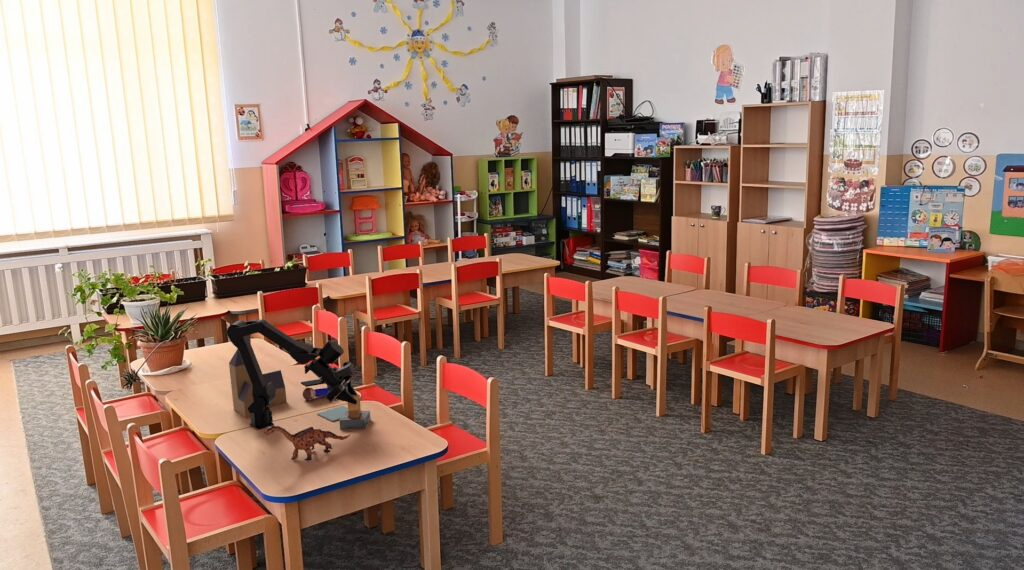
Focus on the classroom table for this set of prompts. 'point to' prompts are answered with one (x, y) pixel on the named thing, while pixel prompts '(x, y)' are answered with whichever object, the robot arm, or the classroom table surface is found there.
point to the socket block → (355, 421)
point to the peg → (354, 408)
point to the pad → (333, 413)
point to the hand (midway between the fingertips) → (357, 401)
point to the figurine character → (311, 393)
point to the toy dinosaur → (306, 440)
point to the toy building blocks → (244, 386)
